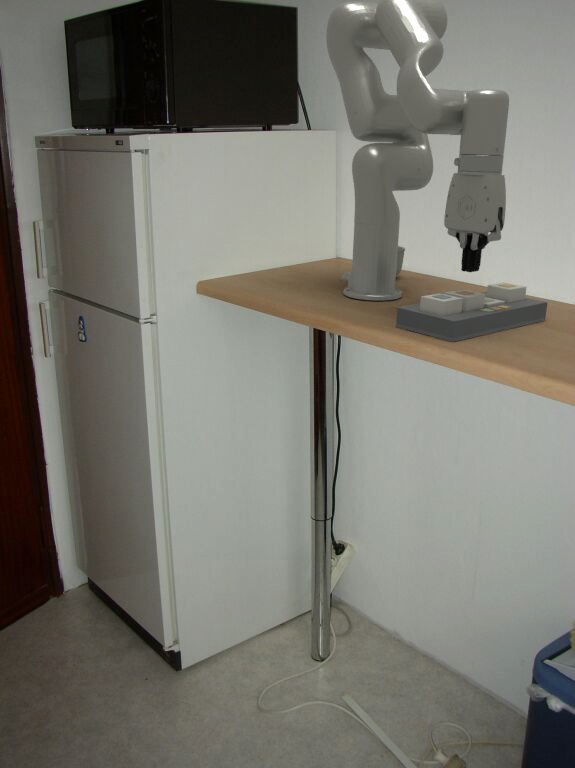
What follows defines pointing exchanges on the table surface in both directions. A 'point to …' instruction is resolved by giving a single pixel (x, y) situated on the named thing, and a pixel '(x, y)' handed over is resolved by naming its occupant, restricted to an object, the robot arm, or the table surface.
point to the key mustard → (506, 292)
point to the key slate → (441, 304)
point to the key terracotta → (469, 299)
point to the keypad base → (471, 319)
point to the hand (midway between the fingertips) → (470, 270)
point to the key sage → (492, 302)
